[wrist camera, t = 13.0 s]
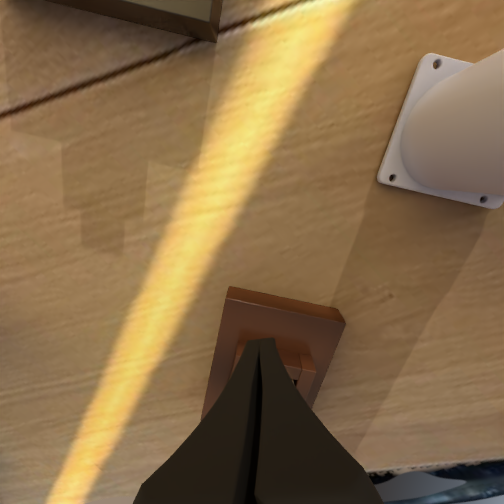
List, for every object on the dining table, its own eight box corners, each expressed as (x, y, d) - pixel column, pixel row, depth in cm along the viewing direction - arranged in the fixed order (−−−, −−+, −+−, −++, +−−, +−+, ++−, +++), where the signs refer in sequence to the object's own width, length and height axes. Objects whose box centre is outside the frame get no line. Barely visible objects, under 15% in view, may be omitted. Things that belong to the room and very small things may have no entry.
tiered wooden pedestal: (229, 285, 21) (222, 310, 17) (338, 308, 21) (355, 338, 17) (205, 400, 25) (195, 441, 21) (295, 418, 26) (302, 460, 22)
